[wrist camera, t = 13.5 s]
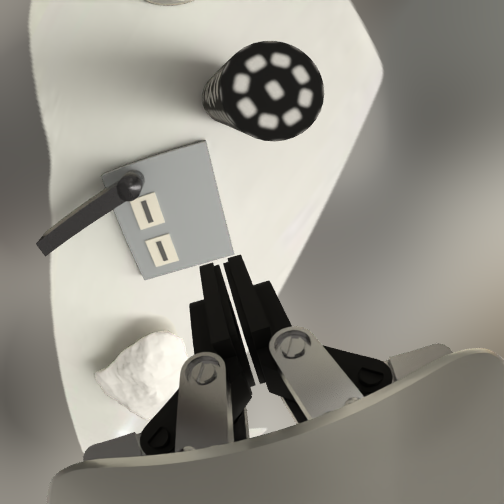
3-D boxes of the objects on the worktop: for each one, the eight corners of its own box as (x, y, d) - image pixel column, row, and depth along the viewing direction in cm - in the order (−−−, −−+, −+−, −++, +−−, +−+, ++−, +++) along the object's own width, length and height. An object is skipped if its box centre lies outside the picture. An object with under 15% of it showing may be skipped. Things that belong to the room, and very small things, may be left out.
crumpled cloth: (96, 397, 59) (99, 425, 52) (93, 305, 44) (91, 342, 37) (176, 398, 70) (184, 425, 63) (208, 315, 56) (221, 348, 49)
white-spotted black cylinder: (270, 104, 37) (340, 108, 20) (224, 135, 38) (260, 161, 21) (238, 60, 32) (288, 25, 16) (190, 92, 33) (196, 76, 17)
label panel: (103, 173, 36) (97, 179, 33) (205, 140, 37) (207, 143, 35) (145, 275, 46) (143, 286, 43) (232, 249, 48) (236, 260, 45)
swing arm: (137, 165, 34) (132, 171, 30) (148, 184, 35) (145, 193, 32) (44, 229, 34) (34, 241, 30) (55, 245, 35) (46, 258, 32)
